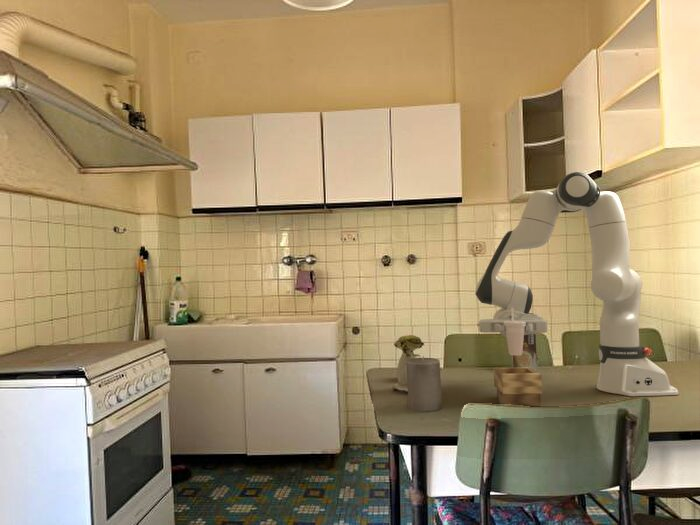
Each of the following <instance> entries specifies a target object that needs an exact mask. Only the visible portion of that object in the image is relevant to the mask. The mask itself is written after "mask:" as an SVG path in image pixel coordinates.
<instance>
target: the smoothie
mask: <svg viewBox="0 0 700 525" xmlns="http://www.w3.org/2000/svg"><path fill="white" fill-rule="evenodd" d="M511 316H512V321H506V322H504V326H505V331H506V337H505V338H506V342H507V343H506V344H507V349H508V354H509V355H510V356H511V355H516V356H518V355H522V350H523V340H524V329H525V326H526V322H523V321H514V318H513V308H511Z"/></svg>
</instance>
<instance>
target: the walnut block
mask: <svg viewBox="0 0 700 525" xmlns="http://www.w3.org/2000/svg"><path fill="white" fill-rule="evenodd" d="M541 395H542V393H540V394H503V393H502V392H500V391H499V390H498V389H497V388H496V398H497V400H498V402H499V404H511V405H523V406H541V407H542V398H541Z"/></svg>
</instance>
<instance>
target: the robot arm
mask: <svg viewBox="0 0 700 525" xmlns="http://www.w3.org/2000/svg"><path fill="white" fill-rule="evenodd" d="M579 211H582V212H583V213H584V215H585V216H586V219H587V225H588V226H587V227H588V233H589V237H590V239H589V240H590V245H591V250H592V251H591V252H592V253H591V254H592V265H591V269H592V270H591V271H592V273H591V275H592V276H591V281H590V290H591V292H592V294H593V295H594V297H596V298H597V299H599V300H601V301H603V303H602V311H601V315H600V318H599V338H600V339H599V342H600V344H599V345H598V360H599V363H600V365H599V366H600V367H599V375H598V379H597V384H596V389H597V390H599V391H602V392H605V393H611V394H616V395H617V394H618V395H622V396H623V395H624V396H628V397H651V396H654V397H655V396H657V397H658V396H677V395H679V390H678V389H677V388H676V387H674V386H673V385H670V380H669V376H668V374H667V373H666V371H665V370H664V369H663V368H661V367H659V366H658V365H657V364H656V363H655V362H653V361H652V360H650V359H649V358H648V357H647V356H651V355H652V353H653V350H652V349H651V348H648V347H643V346H641V345H640V332H639V331H640V329H639V319H640V318H639V316H640V309H641V298H642V288H643V281H642V277H641V275H639V274H638V273H637V272H636V271H635V270H634V269H632V268H630V250H631V243H630V242H631V241H630V236H629V230H628V225H627V224H628V223H627V220H626V215H625V211H624V207H623V204H622V202H621V200H620V197H619V196H618V194H617V193H615V192H614V191H601V188H600V187H599V186H598V184H596V182H595V181H594V180H593V179H592V177H590V176H589V175H588V174H586V173H584V172H581V171H574V172H570V173H568V174H567V175H565V176H563V177H562V178H561V180H560V182H559V183H558V185H557V187H556V188H555V189H553V190H546V189H541V190H540V189H539V190H536V191H534V192H533V193H531V195H530V196H529V198H528V200H527V202H526V204H525V207H524V209H523V211H522V215H521V217H520V221H519V222H518V225H517V226H516V227H515V228H514V229H513V230H509V231H507V232H506V233H505V234H504V236H503V237H502V239H501V241H500V242H499V244H498V246H497V248H496V250H495V252H494V254H493V255H492V257H491V260H490V262H489V263H488V266H487V268H486V269H485V271H484V273H483V275H482V276H481V277H480V279H478V282H477V283H476V286H475V292H474V293H475V294H474V295H475V296H476V298H477V299H478V301H479V302H480V303H481V304H486V305H490V306H495V307H499V309H497V311H496V312H495V313H494V315H493V318H483V319H479V321H478V323H476V325H477V327H479V328H478V330H479V333H483V334H485V333H489V334H490V333H491V334H493V333H498V334H500V336H501V335H502V337H504V338H506V331H505V326H504V322H506V321H512V316H511V308H513V318H514V321H523V322H526V326H525V329H524V335H531V334H536V335H538V334H540V333H541V334H543V333H544V334H545V333H547V332H548V321H547V320H546V319H545V318H543V317H541V316H539V315H538V314H537V313H531V312H530V311H531V309H532V307H533V306H532V305H533V299H534V295H533V292H532V290H531V287H529V285H527V284H523V283H522V282H521V283H520V282H516V281H512V280H509V279H505V278H503V277H500V276H498V273H499V271H500V269H501V268H502V266H503V264H504V262H505V260H506V258H507V257H508V255H510V253H512V252H514V251H515V252H516V251H518V250H529V249H530V250H533V249H538V248H541V247H543V246H544V245H546V244H547V243H548V242H549V241H550V239H551V237H552V234H553V232H554V230H555V226H556V224H557V220H558V216H559V215H560V214H561V213H562V214H563V213H575V212H579Z"/></svg>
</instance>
